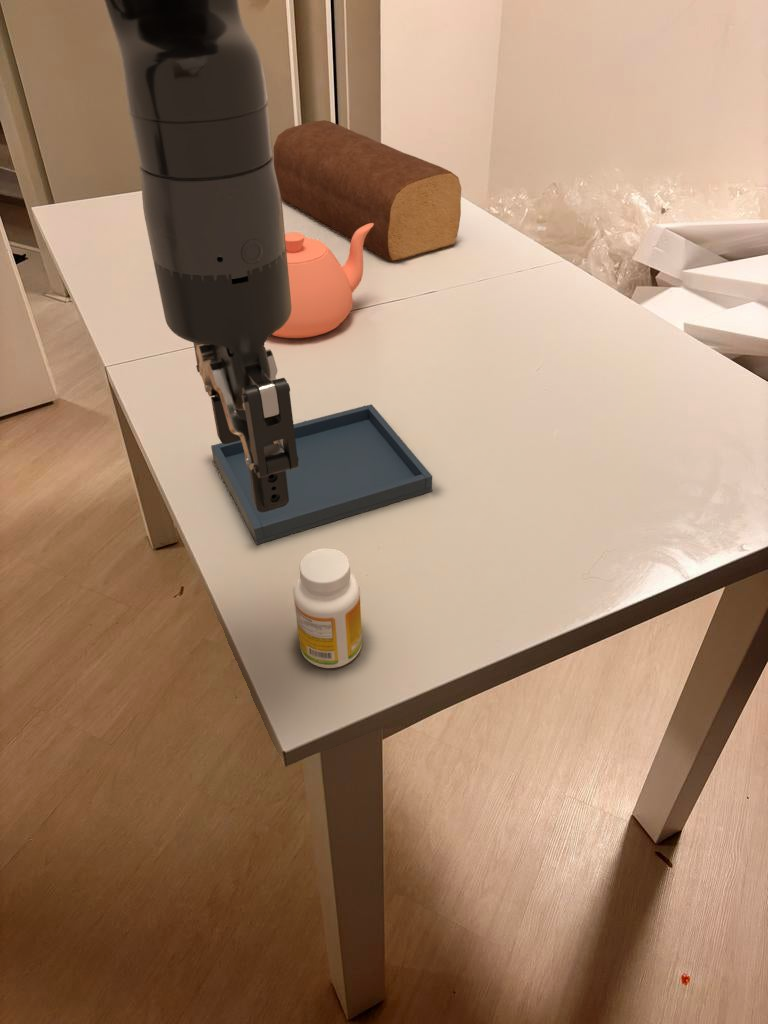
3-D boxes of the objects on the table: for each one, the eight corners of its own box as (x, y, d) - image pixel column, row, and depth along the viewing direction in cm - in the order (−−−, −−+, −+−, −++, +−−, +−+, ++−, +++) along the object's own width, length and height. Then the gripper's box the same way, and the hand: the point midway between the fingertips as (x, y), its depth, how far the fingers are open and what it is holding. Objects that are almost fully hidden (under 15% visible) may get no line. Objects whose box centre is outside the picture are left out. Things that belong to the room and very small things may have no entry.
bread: (342, 184, 162) (338, 112, 154) (462, 245, 137) (466, 163, 129) (274, 200, 156) (267, 125, 147) (388, 266, 131) (387, 181, 122)
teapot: (356, 284, 126) (353, 204, 118) (397, 326, 115) (397, 240, 107) (218, 310, 119) (206, 227, 111) (248, 358, 108) (236, 269, 100)
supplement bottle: (347, 614, 72) (342, 533, 66) (372, 656, 69) (369, 575, 62) (291, 634, 71) (280, 553, 64) (313, 678, 67) (305, 597, 61)
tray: (256, 544, 80) (254, 529, 78) (213, 460, 90) (210, 445, 89) (432, 491, 86) (432, 475, 84) (372, 418, 97) (371, 403, 95)
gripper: (127, 213, 49) (174, 432, 60) (185, 306, 39) (229, 549, 50) (244, 194, 52) (270, 408, 62) (327, 277, 42) (341, 516, 52)
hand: (252, 471), depth 56 cm, fingers open, 8 cm apart
